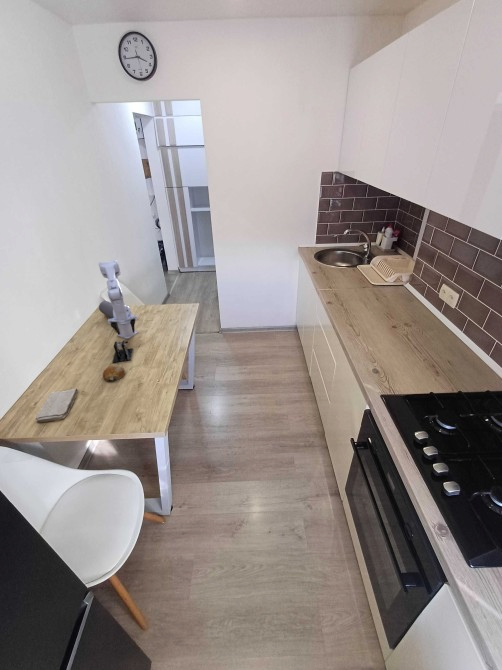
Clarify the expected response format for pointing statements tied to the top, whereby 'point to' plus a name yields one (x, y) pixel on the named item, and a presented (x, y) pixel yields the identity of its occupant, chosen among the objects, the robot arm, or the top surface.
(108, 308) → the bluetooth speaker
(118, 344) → the tap lever
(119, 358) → the tap bracket
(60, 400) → the washcloth
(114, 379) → the bread roll
